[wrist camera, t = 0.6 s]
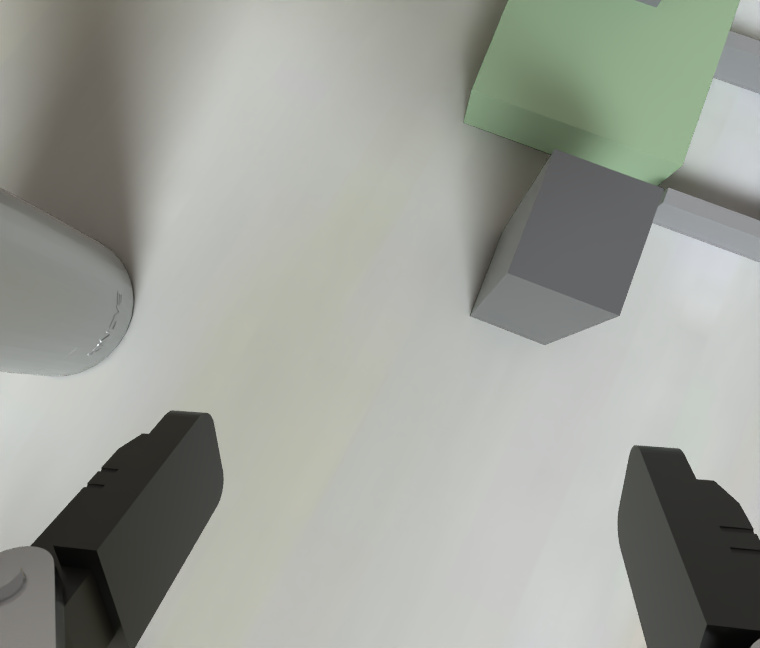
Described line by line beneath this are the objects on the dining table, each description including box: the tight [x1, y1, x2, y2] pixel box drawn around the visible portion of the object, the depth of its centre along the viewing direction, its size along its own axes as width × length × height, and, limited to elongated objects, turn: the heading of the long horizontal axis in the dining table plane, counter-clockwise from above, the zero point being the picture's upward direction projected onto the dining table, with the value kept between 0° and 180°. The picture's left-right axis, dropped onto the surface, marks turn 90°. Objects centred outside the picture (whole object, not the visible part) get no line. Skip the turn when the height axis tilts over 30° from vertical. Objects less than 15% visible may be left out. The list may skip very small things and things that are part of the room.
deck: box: [463, 0, 760, 262], centre depth 33 cm, size 22×20×10 cm
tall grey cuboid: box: [470, 149, 664, 345], centre depth 31 cm, size 5×6×12 cm
